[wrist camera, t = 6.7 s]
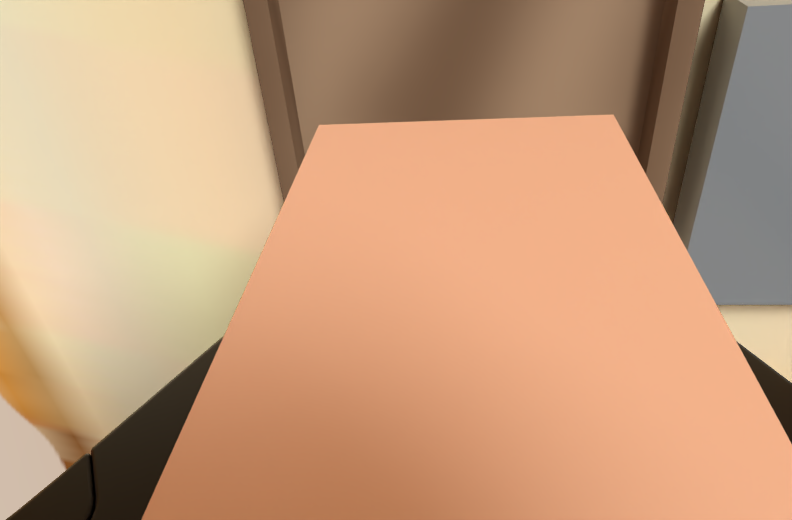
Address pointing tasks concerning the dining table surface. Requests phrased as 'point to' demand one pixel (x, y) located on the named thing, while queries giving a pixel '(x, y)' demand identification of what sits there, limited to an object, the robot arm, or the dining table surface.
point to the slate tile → (743, 160)
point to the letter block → (476, 345)
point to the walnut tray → (473, 66)
